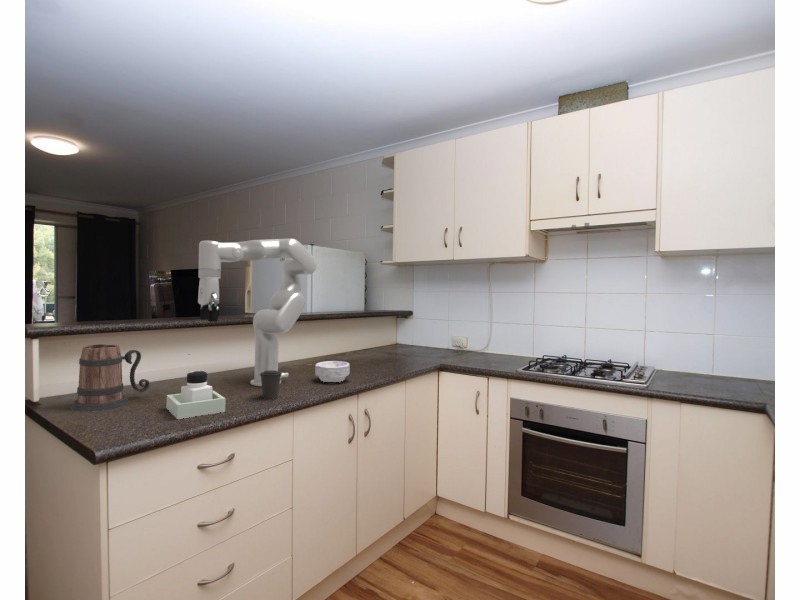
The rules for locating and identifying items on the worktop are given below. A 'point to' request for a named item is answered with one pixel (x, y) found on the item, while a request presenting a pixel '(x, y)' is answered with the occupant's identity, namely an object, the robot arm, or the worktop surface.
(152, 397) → the worktop surface
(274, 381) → the coffee cup
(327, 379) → the white ceramic bowl
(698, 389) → the worktop surface
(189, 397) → the medicine bottle
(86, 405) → the tankard
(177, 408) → the box
